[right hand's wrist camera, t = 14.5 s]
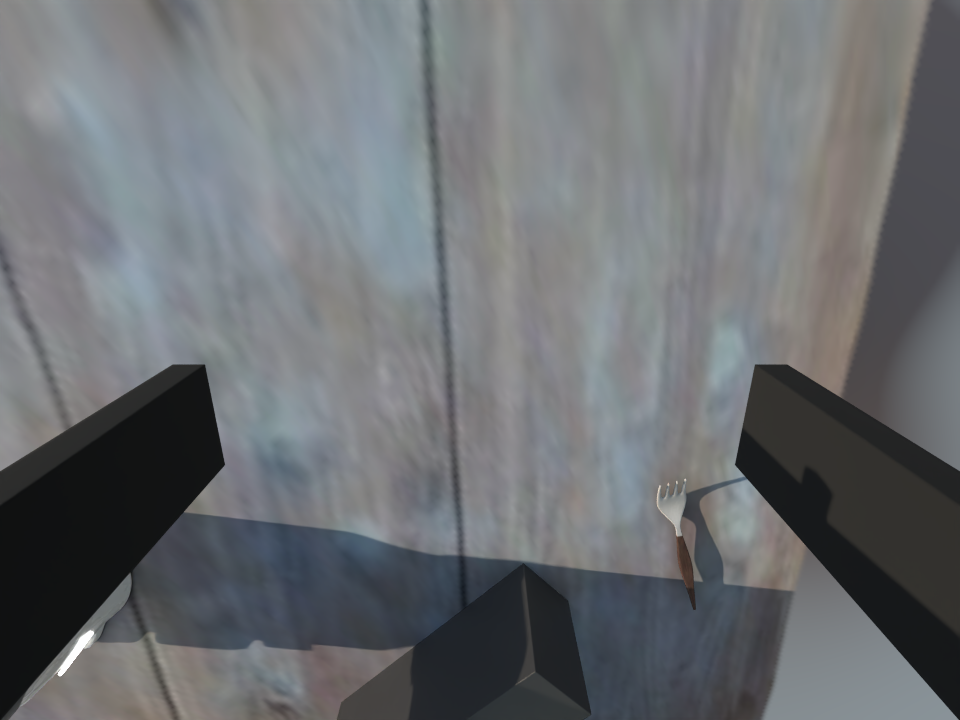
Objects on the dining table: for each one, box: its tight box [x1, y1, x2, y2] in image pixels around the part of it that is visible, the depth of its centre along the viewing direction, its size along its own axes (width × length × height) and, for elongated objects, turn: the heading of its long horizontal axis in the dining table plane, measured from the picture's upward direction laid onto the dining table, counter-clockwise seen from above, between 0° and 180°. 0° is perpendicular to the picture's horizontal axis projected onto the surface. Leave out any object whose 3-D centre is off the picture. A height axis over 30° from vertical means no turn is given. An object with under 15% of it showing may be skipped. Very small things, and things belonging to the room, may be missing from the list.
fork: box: [657, 479, 696, 610], centre depth 46 cm, size 3×16×2 cm, turn 17°
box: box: [337, 564, 591, 720], centre depth 46 cm, size 26×6×11 cm, turn 134°
